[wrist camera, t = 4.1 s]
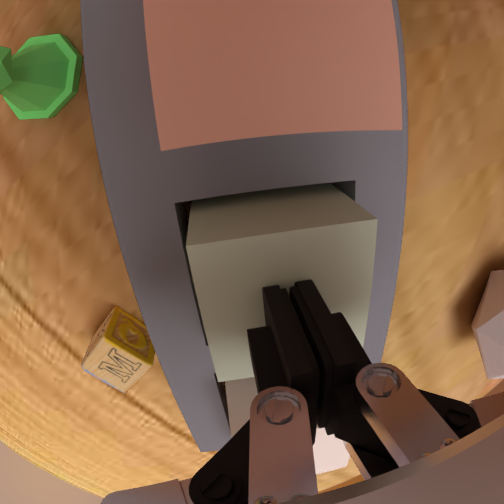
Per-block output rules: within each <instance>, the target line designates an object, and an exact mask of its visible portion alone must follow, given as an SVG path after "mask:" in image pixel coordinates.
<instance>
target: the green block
mask: <svg viewBox="0 0 504 504" xmlns="http://www.w3.org/2000/svg"><path fill="white" fill-rule="evenodd" d="M376 235H377V218H376V217H374V216H373V215H372V214H370V213H369V212H368V211H367V210H365V209H364V208H363V207H361V206H360V205H359V204H357V203H356V202H355V201H354V200H352V199H351V198H350V197H348V196H347V195H346V194H344V193H343V192H341V191H340V190H339V189H337V188H336V187H335V186H333V185H332V184H331V183H321V184H312V185H303V186H294V187H285V188H277V189H268V190H261V191H253V192H245V193H238V194H231V195H224V196H217V197H210V198H204V199H197V200H192V201H191V208H190V216H189V224H188V232H187V241H186V249H187V254H188V259H189V264H190V268H191V273H192V277H193V282H194V286H195V291H196V295H197V300H198V304H199V308H200V312H201V317H202V321H203V325H204V329H205V333H206V337H207V341H208V345H209V349H210V353H211V357H212V361H213V364H214V368H215V372H216V376H217V379H218V382H224V381H231V380H238V379H244V378H251V377H254V372H253V367H252V362H251V356H250V350H249V344H248V337H247V329H251V328H257V327H263V326H266V324H265V314H264V304H263V294H262V287H268V286H274V285H279V287H280V289H282V288H286V290H287V292H288V295H289V297H290V287H293V286H295V282H297V281H303V280H309V279H312V281H313V282H314V284H315V286H316V287H317V289H318V291H319V293H320V294H321V296H322V298H323V300H324V302H325V303H326V305H327V307H328V309H329V310H330V312H331V314H332V313H337V312H341V313H342V314H343V315H344V317H345V319H346V320H347V322H348V324H349V325H350V327H351V329H352V330H353V332H354V334H355V335H356V337H357V339H358V340H359V342H360V344H361V346H362V347H363V345H364V339H365V332H366V326H367V319H368V312H369V304H370V296H371V288H372V279H373V270H374V259H375V248H376Z"/></svg>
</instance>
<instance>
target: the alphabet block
mask: <svg viewBox="0 0 504 504" xmlns="http://www.w3.org/2000/svg"><path fill="white" fill-rule="evenodd" d="M154 354H155V349H154V346H153V344H152V341H151V339H150V336H149V333H148V330H147V328H146V325H145V324H144V323H143V322H141V321H140V320H138V319H137V318H135V317H133V316H132V315H130V314H129V313H127V312H125V311H124V310H122V309H121V308H119V307H118V306H115V307H114V308H113V309H112V311H111V312H110V313H109V315H108V316H107V318H106V319H105V320H104V322H103V323H102V325H101V326H100V327H99V329H98V330H97V331H96V333H95V334H94V335H93V337H92V339H91V342H90V345H89V347H88V349H87V352H86V354H85V357H84V359H83V362H82V368H83V369H84V370H85V371H86V372H88V373H90V374H91V375H93V376H95V377H96V378H98V379H100V380H101V381H103V382H105V383H107V384H108V385H110V386H112V387H114V388H116V389H118V390H120V391H121V392H123V393H126V392H127V391H128V390H129V389H130V388H131V387H132V386H133V385H134V384H135V383H136V382H137V381H138V380H139V379H140V378H141V377H142V376H143V375H144V374H145V373H146V372H147V371H148V370H149V369H150V368H151V367H152V366H153V361H154Z"/></svg>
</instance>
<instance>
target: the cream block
mask: <svg viewBox="0 0 504 504" xmlns="http://www.w3.org/2000/svg"><path fill="white" fill-rule="evenodd" d="M225 386H226V396H227V405H228V414H229V422H230V431H231V438H232V437H233V436H234V435H235V434H236V433H237V432H238V431H239V430H240V429H241V428H242V426H243V425H244V424H245V423H246V422H247V421H248V420H249V419H250V407H251V403H252V401H253V399H254V398H255V396H256V395H258V392H257V387H256V382H255V377H251V378H244V379H238V380H231V381H225ZM313 454H314V462H315V471H316V474H320V473H324V472H328V471H332V470H335V469H339V468H342V467H346V466H347V463H348V460H349V458H350V455H349V453H348V451H347V450H346V448H345V446H344V443H343V440H340V439H338V438H336V437H335V435H334V434H332V435H328V436H327V433H326V430H325V428H319V427H318V425H317V428H316V438H315V443H314V445H313Z"/></svg>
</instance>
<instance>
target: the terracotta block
mask: <svg viewBox="0 0 504 504" xmlns="http://www.w3.org/2000/svg"><path fill="white" fill-rule="evenodd" d="M143 8H144V21H145V32H146V43H147V53H148V62H149V71H150V79H151V87H152V95H153V102H154V109H155V117H156V123H157V130H158V137H159V143H160V149H161V151H165V150H170V149H176V148H182V147H188V146H194V145H201V144H207V143H214V142H222V141H229V140H237V139H246V138H255V137H264V136H274V135H286V134H298V133H313V132H332V131H361V130H402V101H401V81H400V67H399V55H398V45H397V36H396V28H395V21H394V14H393V7H392V1H391V0H143Z"/></svg>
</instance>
